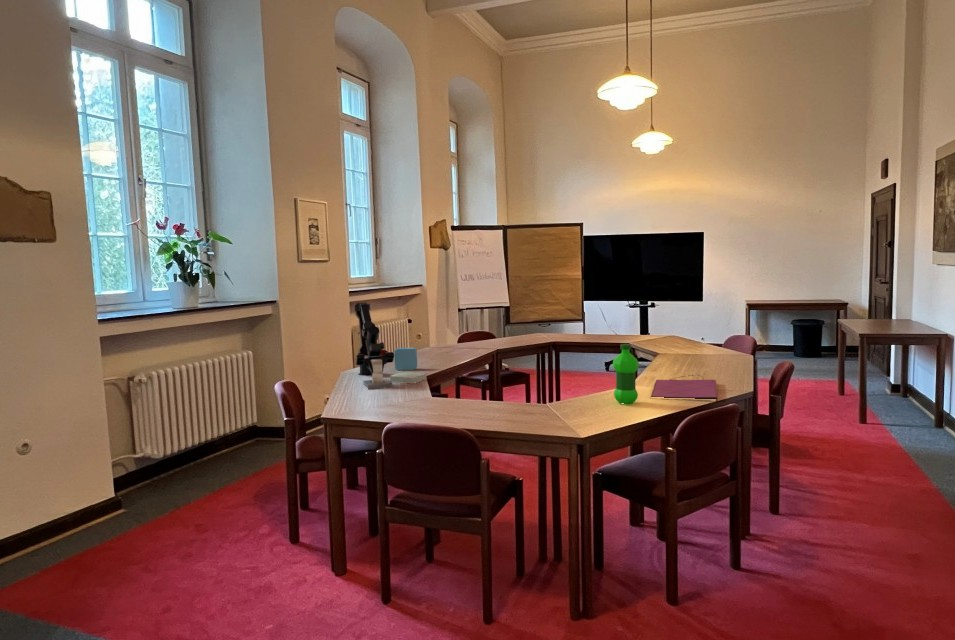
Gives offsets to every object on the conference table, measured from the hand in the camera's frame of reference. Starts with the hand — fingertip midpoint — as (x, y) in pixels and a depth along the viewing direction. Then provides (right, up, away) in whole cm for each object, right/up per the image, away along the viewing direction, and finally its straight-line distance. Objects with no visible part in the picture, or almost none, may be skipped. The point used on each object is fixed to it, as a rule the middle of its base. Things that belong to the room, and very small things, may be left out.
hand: (377, 372), depth 326 cm
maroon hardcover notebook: (+143, -7, -26) cm, 146 cm away
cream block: (0, -7, +2) cm, 7 cm away
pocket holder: (0, -7, +2) cm, 7 cm away
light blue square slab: (+9, -2, +44) cm, 45 cm away
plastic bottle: (+112, -10, -48) cm, 122 cm away
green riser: (+14, -5, +13) cm, 20 cm away
